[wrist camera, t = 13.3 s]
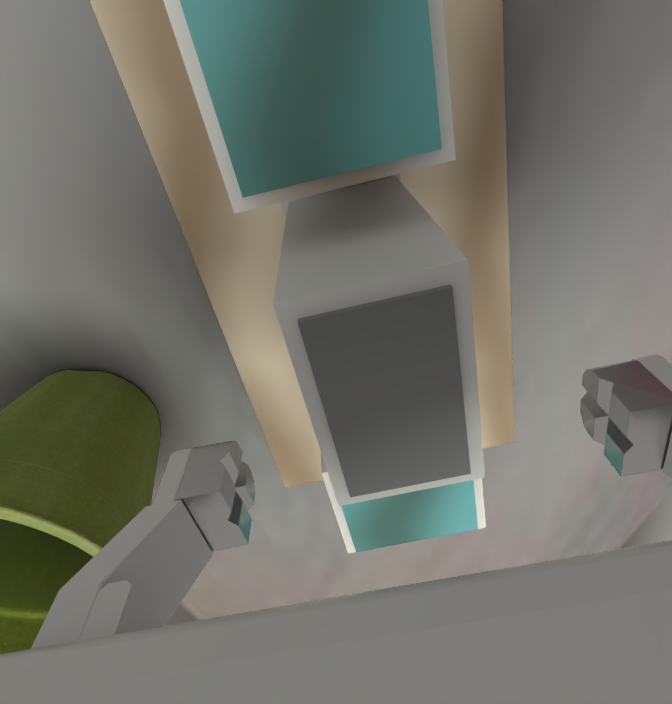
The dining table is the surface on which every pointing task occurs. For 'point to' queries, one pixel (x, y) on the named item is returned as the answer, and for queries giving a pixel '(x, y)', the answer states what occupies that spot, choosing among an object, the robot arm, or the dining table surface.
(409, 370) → the block
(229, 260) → the board
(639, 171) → the dining table surface
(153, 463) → the plant pot
